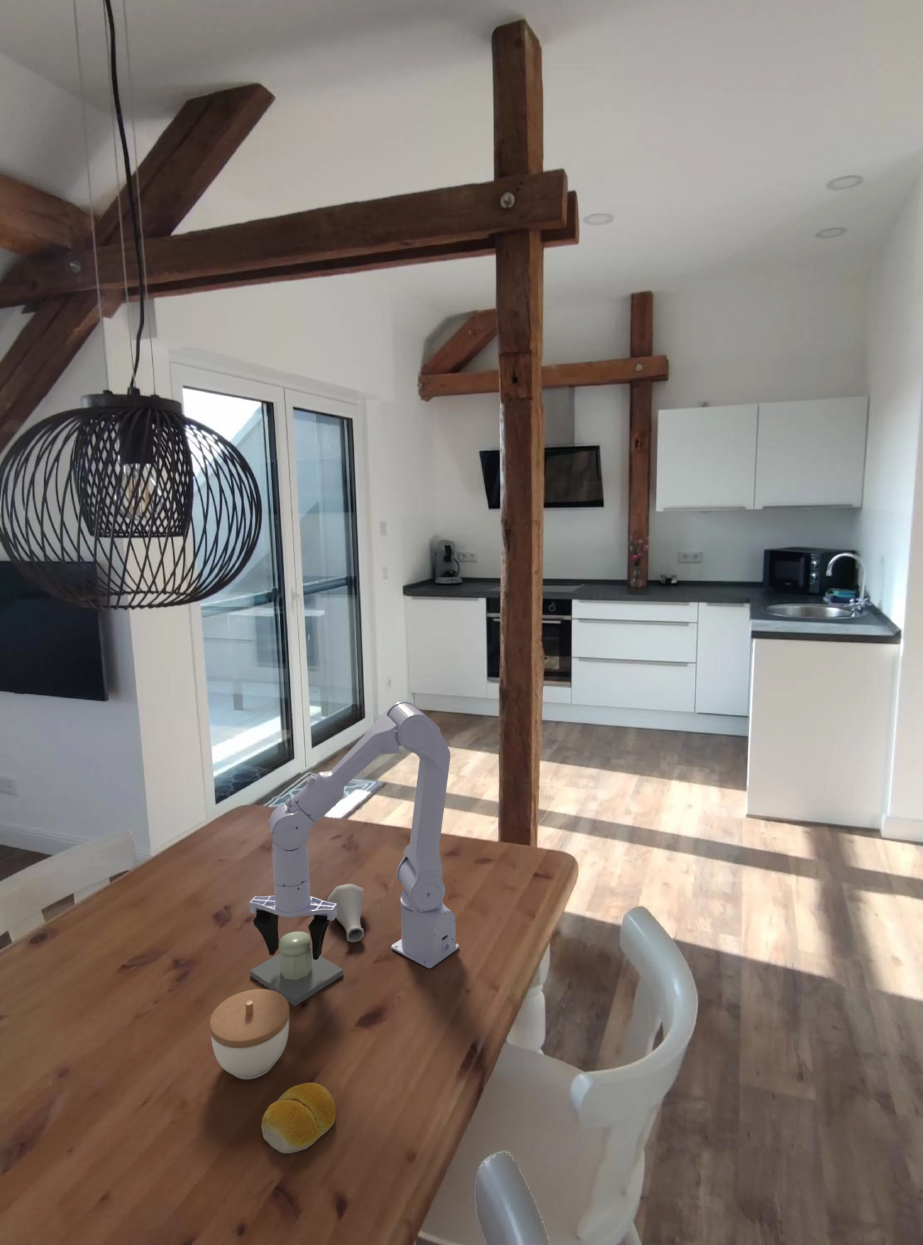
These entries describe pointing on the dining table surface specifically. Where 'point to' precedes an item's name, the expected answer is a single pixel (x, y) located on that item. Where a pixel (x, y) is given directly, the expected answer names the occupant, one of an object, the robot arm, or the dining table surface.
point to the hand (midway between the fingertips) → (295, 954)
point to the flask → (349, 909)
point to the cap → (295, 955)
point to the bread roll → (298, 1118)
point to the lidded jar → (250, 1032)
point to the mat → (299, 988)
